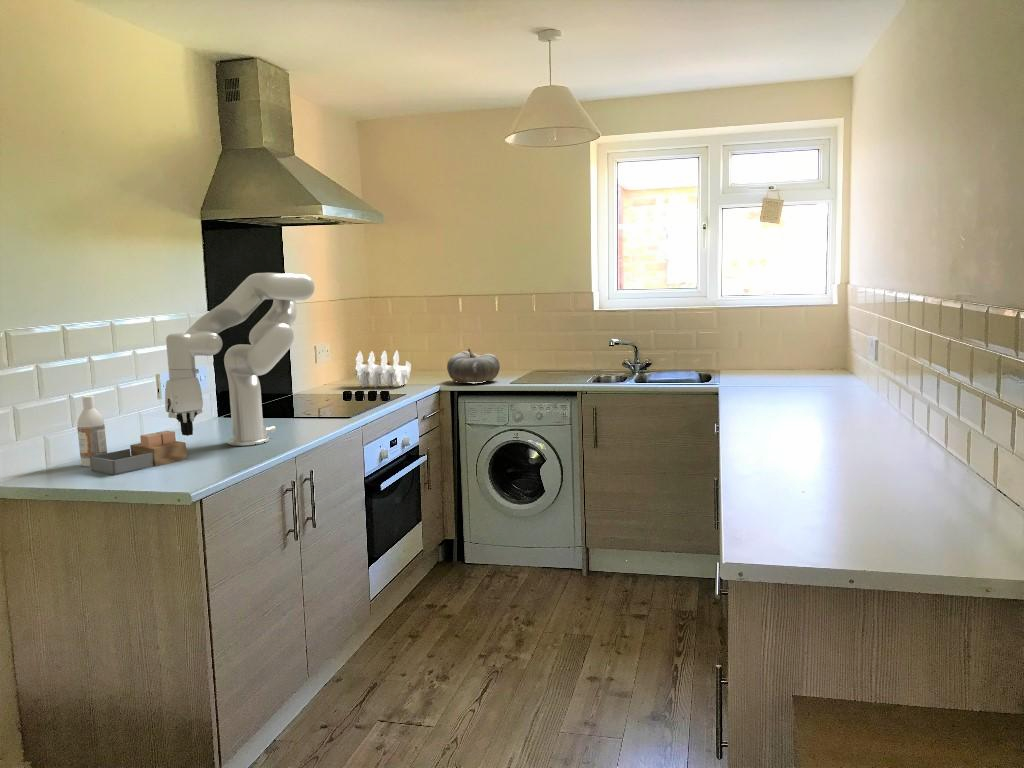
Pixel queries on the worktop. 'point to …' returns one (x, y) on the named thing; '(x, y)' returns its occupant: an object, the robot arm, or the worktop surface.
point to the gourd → (473, 367)
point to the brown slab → (162, 452)
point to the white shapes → (381, 370)
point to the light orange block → (151, 440)
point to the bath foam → (90, 432)
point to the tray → (120, 462)
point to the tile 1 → (167, 436)
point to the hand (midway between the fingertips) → (187, 434)
